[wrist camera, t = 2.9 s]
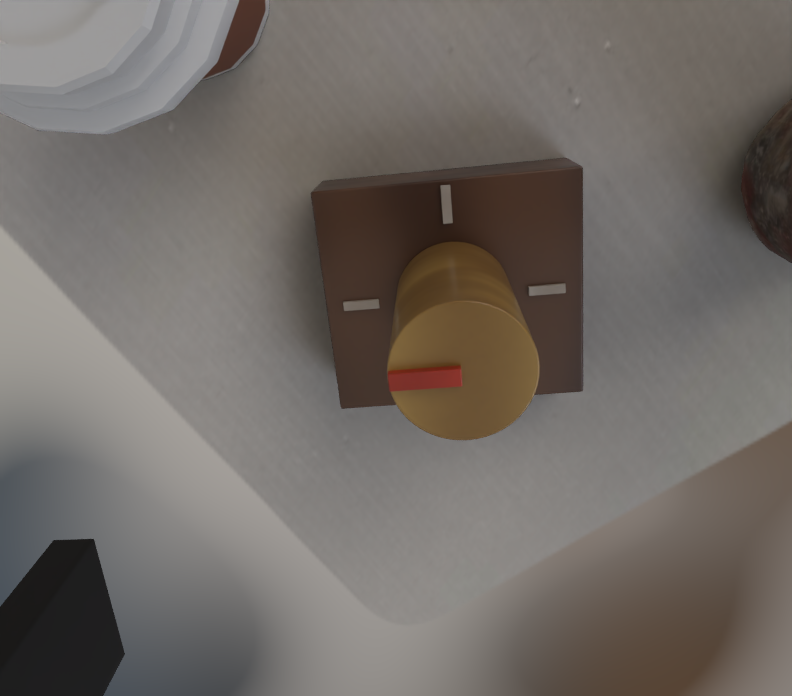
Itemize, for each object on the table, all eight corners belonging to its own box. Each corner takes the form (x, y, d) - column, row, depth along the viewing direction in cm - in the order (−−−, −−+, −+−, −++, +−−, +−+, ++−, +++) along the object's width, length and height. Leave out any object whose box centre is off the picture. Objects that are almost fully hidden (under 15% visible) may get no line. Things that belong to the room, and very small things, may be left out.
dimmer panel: (567, 157, 28) (584, 166, 25) (569, 363, 31) (584, 393, 28) (321, 180, 29) (309, 192, 26) (348, 380, 32) (340, 411, 29)
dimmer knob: (507, 236, 26) (539, 297, 19) (512, 345, 28) (543, 440, 20) (391, 246, 26) (378, 310, 19) (402, 353, 28) (394, 450, 21)
